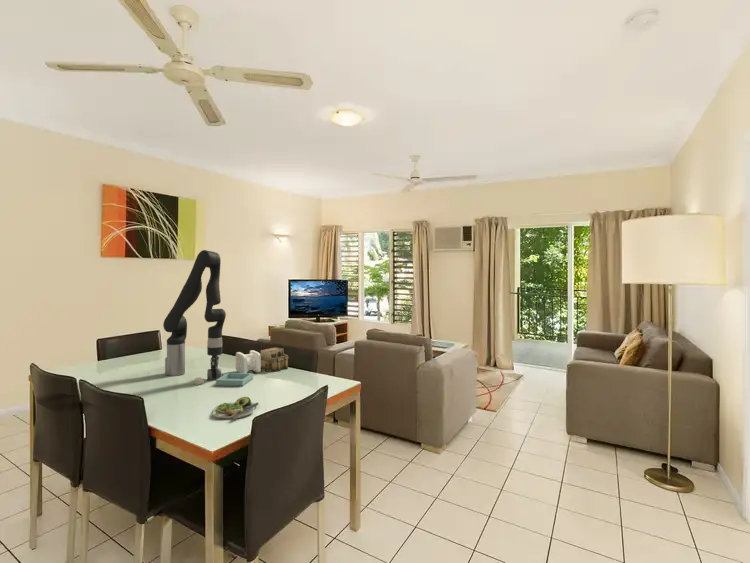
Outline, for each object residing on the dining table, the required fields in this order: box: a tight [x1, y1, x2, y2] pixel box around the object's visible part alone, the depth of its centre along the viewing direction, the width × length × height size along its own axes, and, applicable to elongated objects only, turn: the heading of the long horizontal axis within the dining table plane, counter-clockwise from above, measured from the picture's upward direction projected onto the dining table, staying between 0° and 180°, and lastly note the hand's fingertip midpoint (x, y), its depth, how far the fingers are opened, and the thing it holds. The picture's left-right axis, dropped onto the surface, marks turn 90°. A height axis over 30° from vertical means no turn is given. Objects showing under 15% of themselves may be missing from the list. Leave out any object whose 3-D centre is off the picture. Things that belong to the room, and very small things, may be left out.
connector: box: [206, 368, 226, 380], centre depth 211 cm, size 9×3×5 cm, turn 106°
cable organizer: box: [235, 349, 262, 374], centre depth 225 cm, size 15×11×12 cm
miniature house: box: [260, 346, 289, 373], centre depth 234 cm, size 15×14×11 cm
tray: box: [215, 372, 254, 387], centre depth 205 cm, size 14×14×3 cm
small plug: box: [194, 377, 205, 385], centre depth 203 cm, size 5×3×3 cm, turn 52°
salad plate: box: [211, 396, 259, 420], centre depth 161 cm, size 19×18×5 cm
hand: (214, 377), depth 211 cm, fingers closed on connector, 3 cm apart
